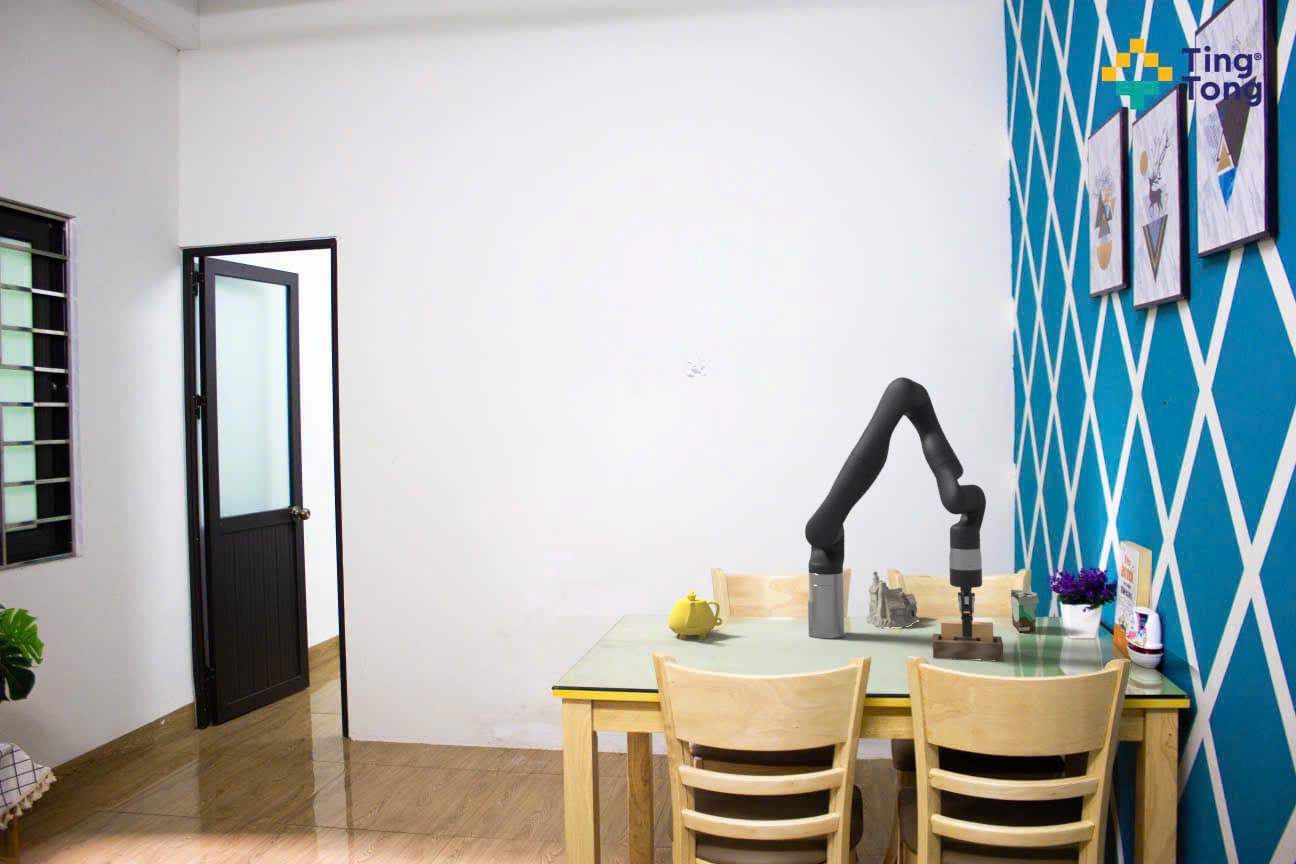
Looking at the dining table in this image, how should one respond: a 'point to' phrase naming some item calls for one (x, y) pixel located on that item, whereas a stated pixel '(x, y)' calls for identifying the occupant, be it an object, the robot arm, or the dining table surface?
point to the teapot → (693, 617)
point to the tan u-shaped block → (978, 630)
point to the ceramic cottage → (890, 606)
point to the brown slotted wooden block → (968, 648)
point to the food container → (1024, 610)
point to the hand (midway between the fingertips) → (967, 633)
